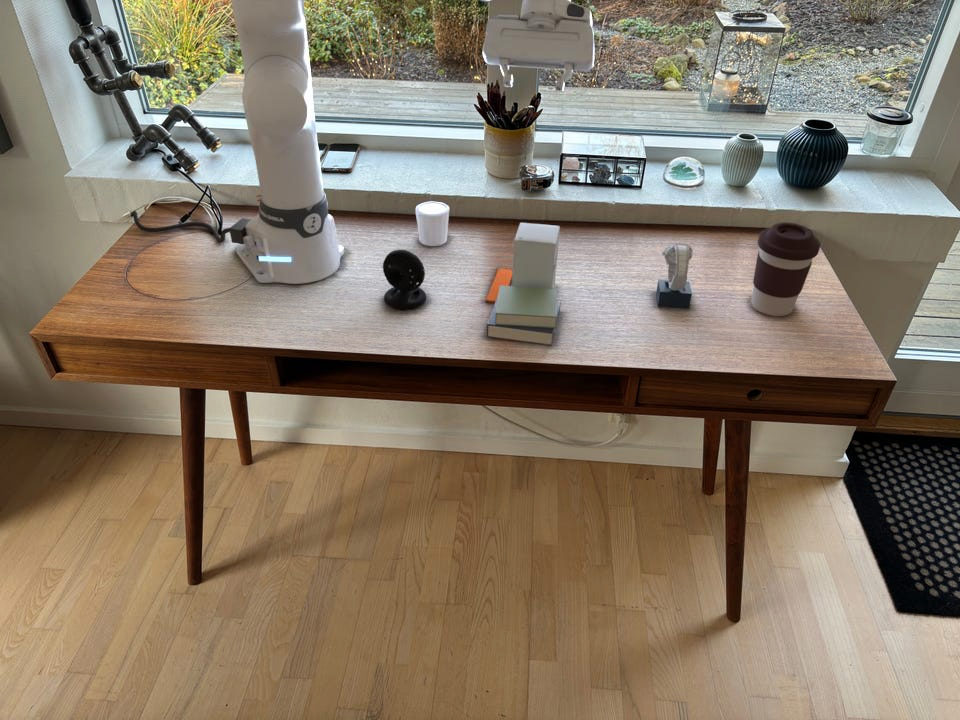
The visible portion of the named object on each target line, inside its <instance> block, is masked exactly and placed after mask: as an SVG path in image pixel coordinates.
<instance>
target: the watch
mask: <svg viewBox="0 0 960 720" xmlns="http://www.w3.org/2000/svg"><path fill="white" fill-rule="evenodd" d="M693 250H694V249H693V247H692V246H691V245H689V244H686V243H682V242H681V243H680V242H679V243H672V244H670V245H667V246H666V247H665V248H664V250H661V256H664V259H665V264H666V266H668V268H667V279H658V280H657V284H656V285H657V286H656V292H655V298H656V305H657V307H658V308H671V309H684V310H685V309H686V310H687V309H688V310H689V309H690V305H691V300H692V295H693V292H692V287H691V283H690V281H688V273H689V263H690V260H691V259H692V257H693V252H694V251H693Z"/></svg>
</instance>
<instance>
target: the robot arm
mask: <svg viewBox="0 0 960 720" xmlns="http://www.w3.org/2000/svg"><path fill="white" fill-rule="evenodd" d="M230 1H231V9H232V14H233V16H232V17H233V19H234V24H235V27H236V32H237V33H236V34H237V37H238V42H239V47H240V51H241V57H242V63H243V70H244V72H243V73H244V78H243V79H244V80H243V88H242V93H241V101H242V106H243V111H244V117H245V121H246V127H247V131H248V136H249V139H250V145H251V147H252V151H253V155H254V160H255V166H256V171H257V178H258V185H259V189H260V194H259V195H256V198H257V200H256V202H259V206H258V213H257V215H255V216H254V217H253V218H245V217H242V218H240V219H239V220H238V221H237V222H235V223H234V224H233V225H232V226H230V227H226V228H224V229H222V230H221V231H220V234H219V233H218V232H217V230H216V229H215V227H213V226H212V225H210V224H209V223H206V222H202V221H190V222H189V221H188V222H182V223H177V224H171V225H166V226H161V227H147V226H144V225H143V224H142V223H141V222H140V220H139V216H138V211H136V210H132V211H131V213H130V217H133V221H134V224H135V226H137V228H138V229H140V231H144V232H150V233H159V232H166V231H172V230H177V229H182V228H187V227H202V228H205V229H207V230H209V231H210V232H211V233H212V235H213V236H214V238H215V239H216V241H217V242H219V243H223V242H225V240H226V234H227V233H229V235H230V241H231V243H232V244H238V245H236V247H235V253H236V254H237V256H238V257H239V259H240V260H241V262H243V264H244V265H245V266H246V268H247V269H248V270H249V272H250V273H251V274H252V276H253V277H254V278H255V280H256V281H257V282H258V283H260V284H271V283H272V284H273V283H281V284H289V285H302V284H308V283H310V284H311V283H314V282H318V281H321V280H324V279H326V278H328V277H330V276H332V275H333V274H335V273H336V272H337V271H338V270H339V268H340V266H341V258H342V257H343V255H344V254H345V247H344V246H343V245H340V244H339V240H338V234H337V229H336V224H335V220H334V217H333V216H332V215H331V214H329V202H328V199H327V194H326V193H325V191H324V185H323V177H322V176H323V175H322V167H321V158H320V151H319V150H320V149H319V142H318V134H317V127H316V125H317V124H316V116H315V108H314V99H313V97H314V96H313V85H312V83H313V82H312V72H311V63H310V61H311V60H310V53H309V42H308V32H307V31H308V30H307V23H306V11H305V1H304V0H230ZM480 1H481V2H491V1H492V0H480ZM521 2H522V3H521V7H520V14H501V13H499V14H495V15H494V16H492V17H490V18H489V19H488V20H487V23H486V26H485V33H486V35H485V38H484V42H483V46H482V57H483V59H484V61H485V63H486V64H487V65H491V66H499V67H500V71H501V73H502V76H503V78H502V86H503V88H512V87H513V83H514V77H513V74H512V73H508V71H509V69H510V67H519V68H531V69H532V68H533V69H545V70H557V71H559V70H560V71H564V72H563V73H562V75H561V77H555V83H554V91H556V92H564V89H565V84H567V81H569V79H570V78H571V77H572V76H573V73H574V72H585V73H586V72H587V73H588V72H590V71H591V70H592V68H594V64H595V63H594V62H595V33H594V29H593V16H592V12H591V9H590V8H588V7H586V6H583V5H580V4H578V3H576V2H573V1H572V0H522V1H521Z"/></svg>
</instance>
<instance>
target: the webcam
mask: <svg viewBox="0 0 960 720" xmlns="http://www.w3.org/2000/svg"><path fill="white" fill-rule="evenodd" d="M382 272H383V275H384V277H385V279H386V281H387V283H388V284H389V285H390V286H391V288H389V289H387V291H386V292H385V293H384V296H383V301H384V303H385V304H386V305H387V307H389V308H390V309H393V310H396V311H402V312H404V311H412V310H416V309H418V308H420V307H421V306H423V305H424V304H425V303H426V301H427V294H426V292H425V290H423V289H422V288H421V287H420V286H421V285H422V284H423V283H424V281H425V278H426V277H425V276H426V271H425V267H424V264H423V262H422V260H421V259H420V257H418V256H417V254H414V253H413V252H411V251H410V250H407V249H395V250H392V251H390V252H389V253H388V254H387V255H386V256H385V258H384V260H383V261H382ZM413 295H416V296H417V298H416V299H414V300H411V301H409V300H410V298H411V297H412V296H413Z"/></svg>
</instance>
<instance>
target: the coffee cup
mask: <svg viewBox="0 0 960 720" xmlns="http://www.w3.org/2000/svg"><path fill="white" fill-rule="evenodd" d="M757 245H758V247H759V251H758V253H757V255H756V262H755V267H754V274H753V282H752V283H753V287H752V293H751V300H750V302H751V306H752V307H753V308H754V309H755V310H756V311H758V312H759V313H762V314H764V315H767V316H772V317H782V316H783V317H784V316H787V315H790V314H791V313H792V312H793V310H794V308H795V305H796V303H797V300H798V298H799V295H800V294H801V292H802V290H803V288H804V286H805V283H806V280H807V277H808V275H809V273H810V270H811V267H812V264H813V262H812V260H813V258H814V259H815V257H817V256H818V255H819V252H820V249H821V242H820V240H819V239H818V238H817V237H816V236H815V235H814V233H813V232H812V230H811V229H810V228H809V227H807V226H806V225H805V226H804V225H803V224H799V223H796V222H795V223H794V222H784V221H783V222H777V223H774V224H773V225H772V226H770V227H767V228H764V229H763V230H762V231H760V233H759V235H758V239H757Z"/></svg>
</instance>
